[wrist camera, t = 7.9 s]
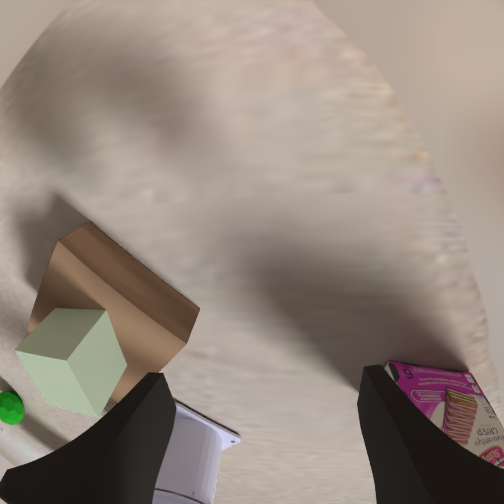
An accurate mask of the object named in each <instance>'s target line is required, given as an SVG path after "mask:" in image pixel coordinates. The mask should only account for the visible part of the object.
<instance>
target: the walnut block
mask: <svg viewBox="0 0 504 504" xmlns="http://www.w3.org/2000/svg"><path fill="white" fill-rule="evenodd" d="M55 308H67V309H91V310H107V313H108V315H109V318H110V321H111V324H112V327H113V330H114V332H115V335H116V338H117V340H118V343H119V346H120V348H121V351H122V353H123V356H124V358H125V361H126V363H127V367H126V369H125V370H124V372H123V374H122V376H121V378H120V379H119V381H118V383H117V385H116V387H115V389H114V391H113V392H112V394H111V396H110V399H112V400H113V401H115V402H116V403H118V402H119V401H120V400H121V399H122V398H123V397H124V396H125V395H126V394H127V393H128V392H129V391H130V390H131V389H132V388H133V387H134V386H135V385H136V384H137V383H138V382H139V381H140V380H141V379H142V378H143V377H144V376H145V375H146V374H147V373H148V372H155V373H158V372H159V371H160V370H161V369H162V368H163V367H164V366H165V365H166V364H167V363H168V362H169V361H170V360H171V359H172V358H173V357H174V356H175V355H176V354H177V353H178V352H179V351H180V350H181V349H182V348H183V347H184V346H185V345H186V344H187V342H188V339H189V337H190V334H191V331H192V329H193V326H194V324H195V321H196V319H197V316H198V313H199V311H200V308H198V307H197V306H196V305H194V304H193V303H192V302H190V301H189V300H188V299H186V298H185V297H184V296H182V295H181V294H180V293H178V292H177V291H176V290H174V289H173V288H172V287H170V286H169V285H168V284H167V283H165V282H164V281H163V280H161V279H160V278H159V277H158V276H156V275H155V274H154V273H152V272H151V271H150V270H149V269H147V268H146V267H145V266H144V265H142V264H141V263H140V262H139V261H137V260H136V259H135V258H134V257H132V256H131V255H130V254H129V253H128V252H126V251H125V250H124V249H123V248H122V247H120V246H119V245H118V244H117V243H116V242H114V241H113V240H112V239H111V238H110V237H108V236H107V235H106V234H105V233H104V232H103V231H101V230H100V229H99V228H98V227H97V226H96V225H94V224H93V223H92V222H91V221H90V222H88V223H86V224H85V225H83V226H81V227H80V228H78V229H76V230H75V231H73V232H71V233H70V234H68V235H66V236H65V237H63V238H61V239H60V240H58V242H57V244H56V247H55V249H54V251H53V254H52V256H51V259H50V261H49V264H48V267H47V269H46V272H45V275H44V277H43V280H42V283H41V286H40V289H39V292H38V295H37V298H36V301H35V304H34V307H33V310H32V314H31V317H30V320H29V324H28V327H27V332H28V333H29V334H30V333H31V332H32V331H33V330H34V329H35V328H36V327H37V326H38V325H39V324H40V323H41V322H42V321H43V320H44V319H45V318H46V317H47V316H48V315H49V314H50V313H51V312H52V311H53V310H54V309H55Z"/></svg>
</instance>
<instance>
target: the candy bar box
mask: <svg viewBox="0 0 504 504" xmlns="http://www.w3.org/2000/svg"><path fill="white" fill-rule="evenodd" d="M383 368H384V369H385V370H386V371H387V373H388V374H389V375H390V376H391V378H392V379H393V380H394V381H395V382H396V384H397V385H398V386H399V387H400V388H401V390H402V391H403V392H404V393H405V394H406V395H407V396H408V398H409V399H410V400H411V401H412V402H413V403H414V404H415V405H416V406H417V407H418V408H419V409H420V410H421V411H422V413H423V414H424V415H426V416H427V417H428V418H429V419H430V420H431V421H432V422H433V423H434V424H435V425H436V426H437V427H438V428H439V429H441V430H442V431H443V432H444V433H445V434H447V435H448V436H449V437H450V438H452V439H453V440H454V441H456V442H457V443H458V444H460V445H461V446H463V447H464V448H466V449H467V450H469V451H471V452H472V453H474V454H475V455H477V456H479V457H480V458H482V459H484V460H486V461H488V462H490V463H492V464H494V465H496V466H498V467H500V468H503V469H504V429H503V426H502V425H501V423H500V421H499V419H498V417H497V416H496V414H495V412H494V410H493V409H492V407H491V405H490V403H489V402H488V400H487V398H486V397H485V395H484V393H483V392H482V390H481V388H480V387H479V385H478V383H477V382H476V380H475V378H474V377H473V375H472V373H471V372H462V371H453V370H445V369H438V368H430V367H423V366H417V365H411V364H405V363H399V362H393V361H388V362H387V363H386V364H385V366H384V367H383Z"/></svg>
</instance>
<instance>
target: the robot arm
mask: <svg viewBox="0 0 504 504" xmlns="http://www.w3.org/2000/svg"><path fill="white" fill-rule="evenodd" d="M357 406H358V413H359V420H360V427H361V431H362V435H363V438H364V442H365V446H366V450H367V454H368V457H369V461H370V465H371V469H372V473H373V478H374V483H375V491H376V500H377V504H504V469H503V468H500V467H498V466H496V465H494V464H492V463H490V462H488V461H486V460H484V459H482V458H480V457H479V456H477V455H475V454H474V453H472V452H471V451H469V450H467V449H466V448H464V447H463V446H461V445H460V444H458V443H457V442H456V441H454V440H453V439H452V438H450V437H449V436H448V435H447V434H445V433H444V432H443V431H442V430H441V429H439V428H438V427H437V426H436V425H435V424H434V423H433V422H432V421H431V420H430V419H429V418H428V417H427V416H426V415H424V414H423V413H422V411H421V410H420V409H419V408H418V407H417V406H416V405H415V404H414V403H413V402H412V401H411V400H410V399H409V398H408V396H407V395H406V394H405V393H404V392H403V391H402V390H401V388H400V387H399V386H398V385H397V384H396V382H395V381H394V380H393V379H392V378H391V376H390V375H389V374H388V373H387V371H386V370H385V369H384V368H383V366H381V365H373V366H365V367H364V370H363V376H362V381H361V386H360V391H359V396H358V401H357ZM240 441H241V436H239V435H237V434H235V433H233V432H231V431H229V430H227V429H225V428H223V427H221V426H219V425H217V424H215V423H214V422H212V421H210V420H208V419H206V418H204V417H202V416H201V415H199V414H197V413H195V412H193V411H192V410H190V409H188V408H186V407H185V406H183V405H181V404H180V403H177V402H174V400H173V397H172V395H171V392H170V390H169V387H168V384H167V382H166V379H165V376H164V374H163V373H155V372H148V373H147V374H146V375H145V376H144V377H143V378H142V379H141V380H140V381H139V382H138V383H137V384H136V385H135V386H134V387H133V388H132V389H131V390H130V391H129V392H128V393H127V394H126V395H125V396H124V397H123V398H122V399H121V400H120V401H119V402H118V403H117V404H116V405H115V406H114V407H113V408H112V409H111V410H110V411H109V412H108V413H107V414H106V415H104V416H103V417H102V418H101V419H100V420H99V421H98V422H96V423H95V424H94V425H93V426H92V427H90V428H89V429H88V430H87V431H85V432H84V433H82V434H81V435H80V436H78V437H77V438H75V439H74V440H72V441H71V442H69V443H67V444H66V445H64V446H62V447H61V448H59V449H57V450H56V451H54V452H52V453H50V454H48V455H46V456H44V457H42V458H39V459H37V460H35V461H32V462H30V463H27V464H24V465H21V466H18V467H15V468H11V469H7V471H6V472H5V474H4V476H3V478H2V480H1V481H0V498H1V499H2V500H3V501H5V502H6V503H7V504H213V501H214V495H215V489H216V483H217V477H218V471H219V465H220V459H221V453H222V451H223V450H225V449H227V448H229V447H231V446H233V445H235V444H236V443H238V442H240Z"/></svg>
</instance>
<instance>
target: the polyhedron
mask: <svg viewBox="0 0 504 504" xmlns="http://www.w3.org/2000/svg"><path fill="white" fill-rule="evenodd" d="M23 417H24V405H23V403H22V401H21V400H20V398H19V397H18V396H17V395H15V394H14V393H11V392H9V391H4V392H1V393H0V419H1V420H2V421H3V422H5V423H7V424H10V425H13V424H17V423H19V422H21V421H22V419H23Z"/></svg>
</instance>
